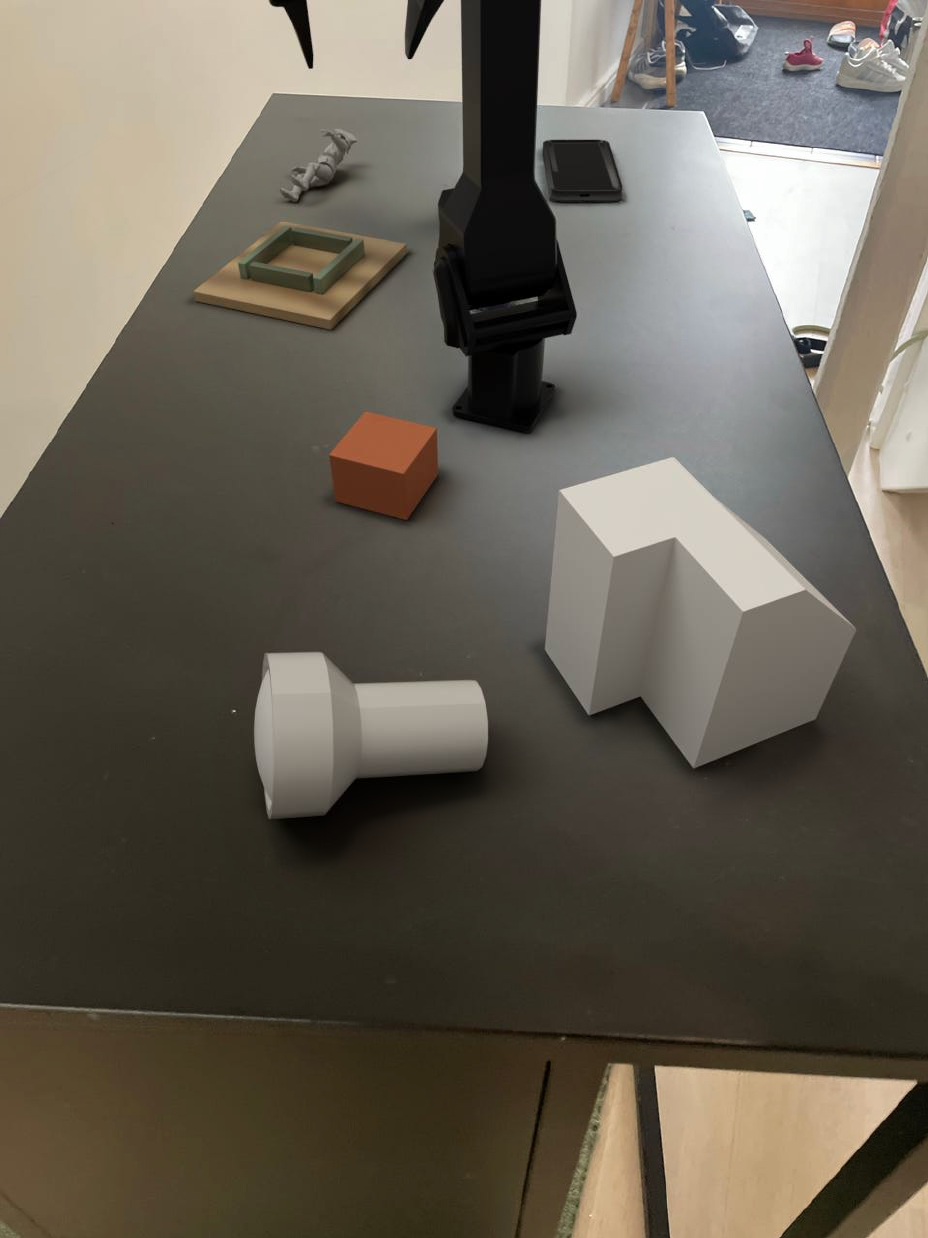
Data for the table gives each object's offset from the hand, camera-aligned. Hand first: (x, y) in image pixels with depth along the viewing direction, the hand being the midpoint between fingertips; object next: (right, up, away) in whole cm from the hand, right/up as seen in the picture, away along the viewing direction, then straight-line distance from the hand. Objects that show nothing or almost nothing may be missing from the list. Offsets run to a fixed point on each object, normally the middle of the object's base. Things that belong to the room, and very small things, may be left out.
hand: (359, 61), depth 82 cm
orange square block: (+4, -41, -18) cm, 45 cm away
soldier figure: (-6, -2, +19) cm, 21 cm away
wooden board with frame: (-6, -18, +4) cm, 19 cm away
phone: (+22, 0, +21) cm, 31 cm away
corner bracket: (+22, -54, -30) cm, 66 cm away
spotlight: (+4, -58, -34) cm, 68 cm away
